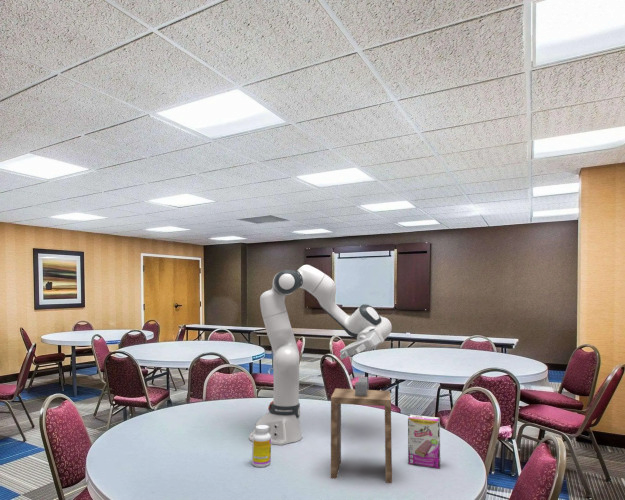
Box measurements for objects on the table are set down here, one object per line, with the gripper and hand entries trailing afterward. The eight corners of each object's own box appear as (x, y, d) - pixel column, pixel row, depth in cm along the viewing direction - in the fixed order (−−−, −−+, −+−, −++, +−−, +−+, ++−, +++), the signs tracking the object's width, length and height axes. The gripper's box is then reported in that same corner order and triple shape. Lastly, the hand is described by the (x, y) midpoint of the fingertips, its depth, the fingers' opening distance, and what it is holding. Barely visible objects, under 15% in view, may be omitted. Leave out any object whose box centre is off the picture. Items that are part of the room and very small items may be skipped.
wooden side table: (330, 478, 135) (331, 397, 139) (335, 461, 149) (335, 388, 152) (392, 483, 132) (390, 400, 135) (391, 466, 146) (390, 390, 149)
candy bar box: (408, 464, 147) (407, 417, 149) (409, 459, 152) (408, 413, 154) (440, 469, 144) (439, 420, 145) (441, 464, 148) (439, 417, 150)
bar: (355, 396, 140) (355, 384, 141) (358, 384, 160) (358, 374, 160) (366, 396, 139) (366, 384, 140) (368, 384, 159) (368, 374, 160)
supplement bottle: (272, 466, 144) (272, 428, 146) (253, 468, 143) (254, 430, 144) (268, 459, 151) (269, 423, 152) (250, 461, 149) (251, 424, 150)
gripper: (348, 340, 185) (329, 354, 175) (379, 326, 171) (360, 341, 161) (355, 352, 184) (337, 367, 175) (387, 340, 170) (368, 355, 160)
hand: (348, 354), depth 168 cm, fingers open, 8 cm apart
